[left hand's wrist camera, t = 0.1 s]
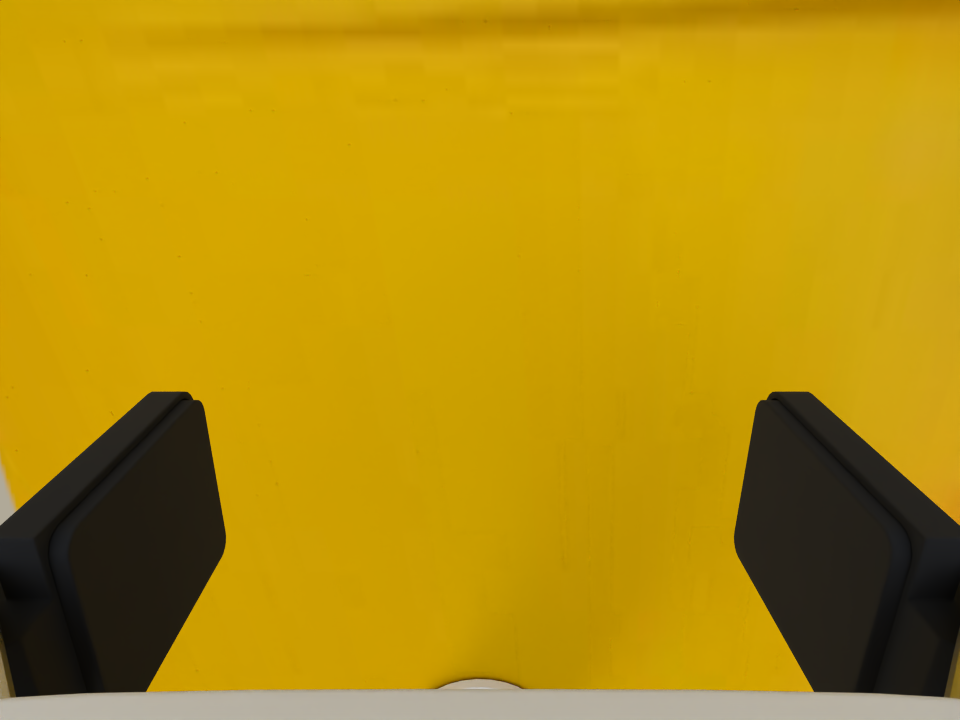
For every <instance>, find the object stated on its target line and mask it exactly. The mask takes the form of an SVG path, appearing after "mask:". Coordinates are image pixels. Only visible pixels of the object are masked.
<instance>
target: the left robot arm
mask: <svg viewBox="0 0 960 720" xmlns="http://www.w3.org/2000/svg"><path fill="white" fill-rule="evenodd" d="M225 543H226V533H225V527H224V521H223V515H222V509H221V503H220V498H219V492H218V486H217V480H216V475H215V469H214V463H213V457H212V451H211V446H210V440H209V434H208V428H207V422H206V417H205V411H204V407H203V405H202V403H201V402H200V401H199V400H193V398H192V396H191V395H190V394H189V393H188V392H151V393H149V394H147V395H146V396H145V397H144V398H143V399H142V400H141V401H140V402H138V403H137V404H136V405H135V406H134V407H133V408H132V409H131V410H130V411H128V412H127V413H126V414H125V415H124V416H123V417H122V418H121V419H119V420H118V421H117V422H116V423H115V424H114V425H113V426H112V427H110V428H109V429H108V430H107V431H106V432H105V433H104V434H103V435H101V436H100V437H99V438H98V439H97V440H96V441H95V442H94V443H92V444H91V445H90V446H89V447H88V448H87V449H86V450H85V451H84V452H82V453H81V454H80V455H79V456H78V457H77V458H76V459H75V460H73V461H72V462H71V463H70V464H69V465H68V466H67V467H66V468H64V469H63V470H62V471H61V472H60V473H59V474H58V475H57V476H55V477H54V478H53V479H52V480H51V481H50V482H49V483H48V484H46V485H45V486H44V487H43V488H42V489H41V490H40V491H39V492H38V493H36V494H35V495H34V496H33V497H32V498H31V499H30V500H29V501H27V502H26V503H25V504H24V505H23V506H22V507H21V508H20V509H18V510H17V511H16V512H15V513H14V514H13V515H12V516H11V517H9V518H8V519H7V520H6V521H5V522H4V523H3V524H2V525H0V720H960V525H958V524H957V523H956V522H955V521H954V520H953V519H952V518H951V517H949V516H948V515H947V514H946V513H945V512H944V511H943V510H942V509H940V508H939V507H938V506H937V505H936V504H935V503H934V502H933V501H931V500H930V499H929V498H928V497H927V496H926V495H925V494H924V493H922V492H921V491H920V490H919V489H918V488H917V487H916V486H915V485H914V484H912V483H911V482H910V481H909V480H908V479H907V478H906V477H905V476H903V475H902V474H901V473H900V472H899V471H898V470H897V469H896V468H894V467H893V466H892V465H891V464H890V463H889V462H888V461H887V460H885V459H884V458H883V457H882V456H881V455H880V454H879V453H878V452H876V451H875V450H874V449H873V448H872V447H871V446H870V445H869V444H868V443H866V442H865V441H864V440H863V439H862V438H861V437H860V436H859V435H857V434H856V433H855V432H854V431H853V430H852V429H851V428H850V427H848V426H847V425H846V424H845V423H844V422H843V421H842V420H841V419H839V418H838V417H837V416H836V415H835V414H834V413H833V412H832V411H830V410H829V409H828V408H827V407H826V406H825V405H824V404H823V403H822V402H820V401H819V400H818V399H817V398H816V397H815V396H814V395H813V394H811V393H809V392H772V393H771V394H770V395H769V396H768V398H767V400H761V401H760V402H759V403H758V405H757V407H756V411H755V417H754V422H753V428H752V434H751V440H750V446H749V451H748V457H747V463H746V469H745V474H744V480H743V486H742V492H741V498H740V503H739V509H738V515H737V521H736V527H735V533H734V543H735V549H736V553H737V555H738V557H739V559H740V561H741V563H742V564H743V566H744V568H745V570H746V571H747V573H748V575H749V577H750V579H751V580H752V582H753V584H754V586H755V587H756V589H757V591H758V593H759V595H760V596H761V598H762V600H763V602H764V603H765V605H766V607H767V609H768V611H769V612H770V614H771V616H772V618H773V619H774V621H775V623H776V625H777V627H778V628H779V630H780V632H781V634H782V635H783V637H784V639H785V641H786V643H787V644H788V646H789V648H790V650H791V651H792V653H793V655H794V657H795V659H796V660H797V662H798V664H799V666H800V667H801V669H802V671H803V673H804V675H805V676H806V678H807V680H808V682H809V683H810V685H811V687H812V689H813V691H814V692H783V691H731V690H602V689H521V688H519V687H517V686H514V685H511V684H509V683H506V682H501V681H496V680H490V679H472V680H463V681H458V682H455V683H451V684H448V685H445V686H443V687H441V688H438V689H358V690H229V691H177V692H146V691H147V689H148V687H149V685H150V683H151V682H152V680H153V678H154V676H155V675H156V673H157V671H158V669H159V667H160V666H161V664H162V662H163V660H164V659H165V657H166V655H167V653H168V651H169V650H170V648H171V646H172V644H173V643H174V641H175V639H176V637H177V635H178V634H179V632H180V630H181V628H182V627H183V625H184V623H185V621H186V619H187V618H188V616H189V614H190V612H191V611H192V609H193V607H194V605H195V603H196V602H197V600H198V598H199V596H200V595H201V593H202V591H203V589H204V587H205V586H206V584H207V582H208V580H209V579H210V577H211V575H212V573H213V571H214V570H215V568H216V566H217V564H218V563H219V561H220V559H221V557H222V555H223V553H224V549H225Z"/></svg>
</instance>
